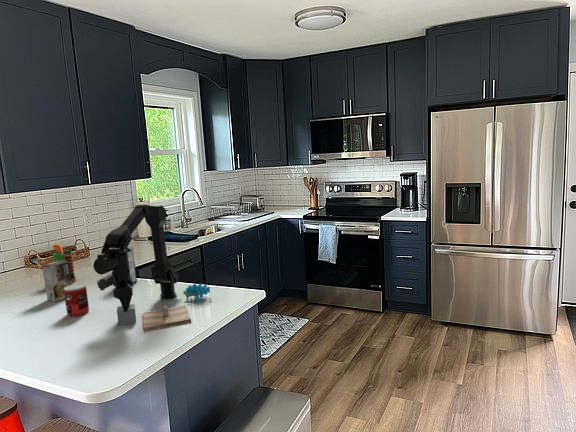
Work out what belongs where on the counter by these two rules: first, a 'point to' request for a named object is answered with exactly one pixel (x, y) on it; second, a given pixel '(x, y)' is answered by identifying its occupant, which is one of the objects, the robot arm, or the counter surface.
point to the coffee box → (56, 279)
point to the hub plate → (165, 317)
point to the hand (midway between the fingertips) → (126, 307)
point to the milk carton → (131, 264)
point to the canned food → (76, 300)
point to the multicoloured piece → (64, 259)
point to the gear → (196, 291)
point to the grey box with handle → (126, 315)
